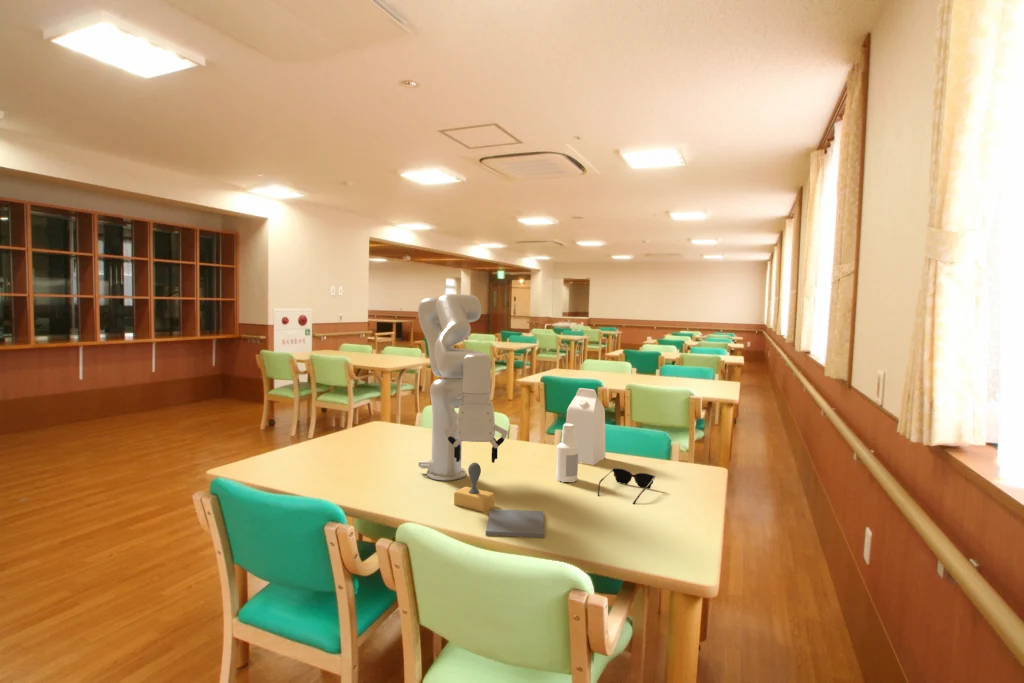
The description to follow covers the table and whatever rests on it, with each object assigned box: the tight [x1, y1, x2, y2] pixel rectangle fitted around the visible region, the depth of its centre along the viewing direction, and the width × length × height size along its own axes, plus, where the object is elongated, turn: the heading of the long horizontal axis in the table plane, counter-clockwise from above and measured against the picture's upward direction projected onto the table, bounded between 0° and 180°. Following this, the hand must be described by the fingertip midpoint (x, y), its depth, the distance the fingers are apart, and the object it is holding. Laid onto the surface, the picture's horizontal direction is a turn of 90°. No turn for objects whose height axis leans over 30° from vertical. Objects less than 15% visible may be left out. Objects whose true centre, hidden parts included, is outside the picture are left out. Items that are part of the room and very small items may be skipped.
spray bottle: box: [555, 423, 579, 483], centre depth 168 cm, size 7×7×18 cm
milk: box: [565, 387, 606, 466], centre depth 192 cm, size 12×12×26 cm
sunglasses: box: [597, 467, 656, 505], centre depth 158 cm, size 14×16×5 cm
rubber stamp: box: [453, 462, 495, 513], centre depth 144 cm, size 10×6×12 cm, turn 60°
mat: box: [485, 508, 545, 539], centre depth 132 cm, size 14×14×1 cm
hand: (475, 461), depth 143 cm, fingers open, 9 cm apart
